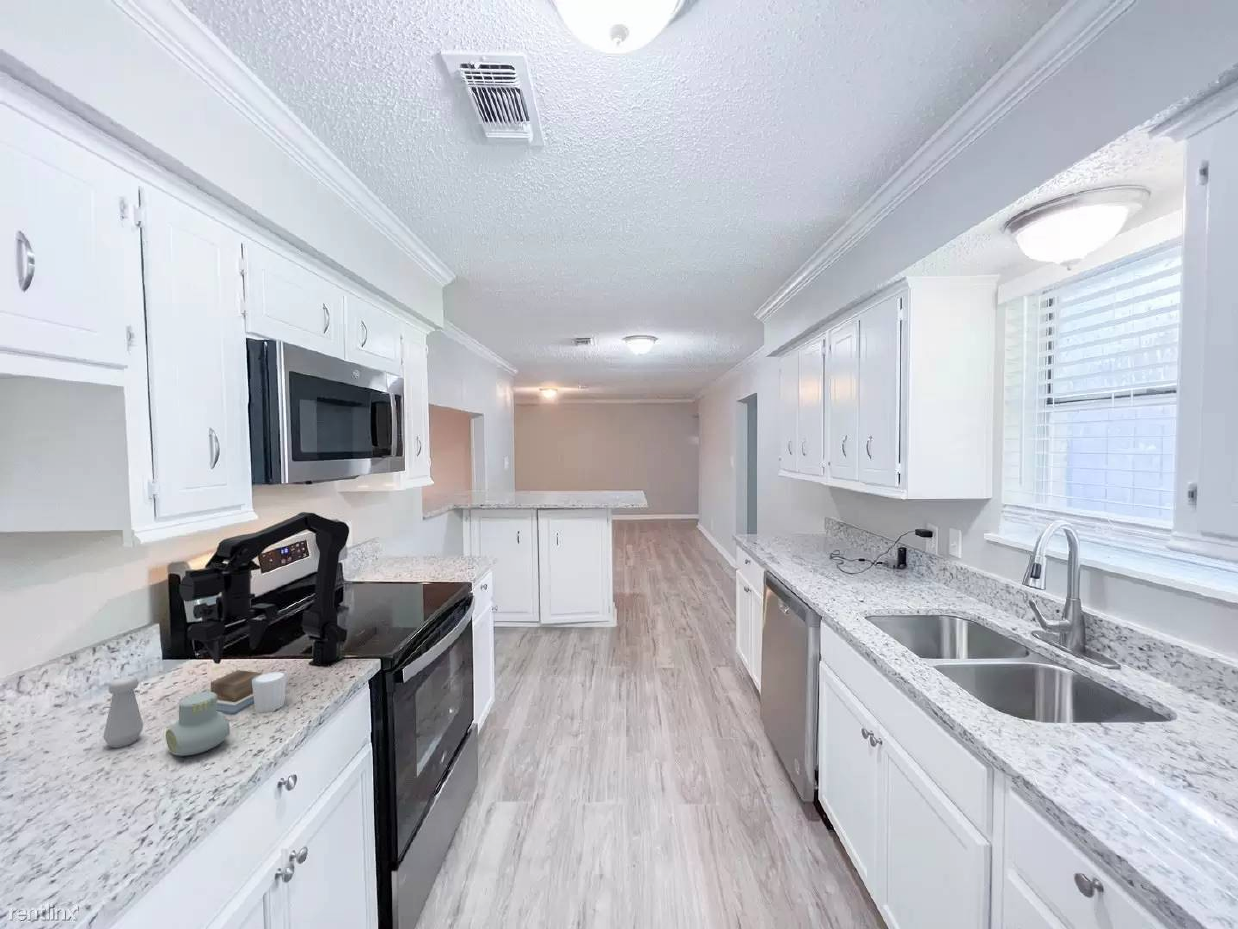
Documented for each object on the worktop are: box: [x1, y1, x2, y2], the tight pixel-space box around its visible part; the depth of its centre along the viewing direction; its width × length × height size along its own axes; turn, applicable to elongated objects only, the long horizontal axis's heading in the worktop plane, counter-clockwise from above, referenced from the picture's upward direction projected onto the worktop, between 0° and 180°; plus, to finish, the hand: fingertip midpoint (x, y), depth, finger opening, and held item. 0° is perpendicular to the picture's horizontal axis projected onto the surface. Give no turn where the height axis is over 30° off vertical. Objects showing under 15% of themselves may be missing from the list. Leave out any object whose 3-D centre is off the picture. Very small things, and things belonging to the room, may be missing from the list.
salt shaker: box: [102, 675, 144, 749], centre depth 104 cm, size 6×6×13 cm
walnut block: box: [210, 669, 263, 702], centre depth 124 cm, size 7×7×4 cm
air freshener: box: [165, 691, 231, 757], centre depth 103 cm, size 11×8×10 cm
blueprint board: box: [217, 694, 254, 715], centre depth 124 cm, size 14×14×1 cm
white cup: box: [252, 670, 288, 713], centre depth 120 cm, size 7×7×7 cm
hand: (235, 656), depth 124 cm, fingers open, 9 cm apart
